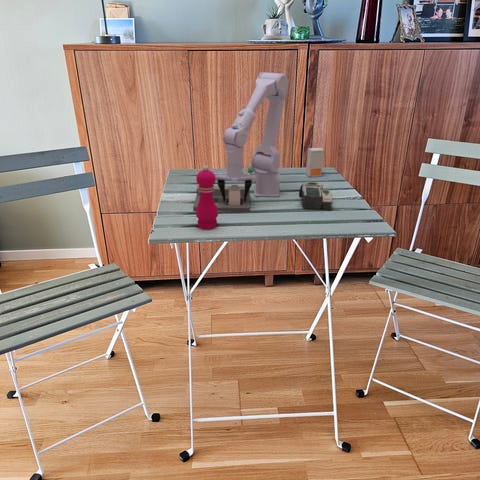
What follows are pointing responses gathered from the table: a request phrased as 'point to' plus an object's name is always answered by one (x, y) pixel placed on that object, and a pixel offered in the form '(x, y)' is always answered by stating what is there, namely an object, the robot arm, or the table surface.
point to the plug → (234, 195)
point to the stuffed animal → (250, 171)
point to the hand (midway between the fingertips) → (234, 200)
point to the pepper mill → (206, 200)
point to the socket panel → (227, 200)
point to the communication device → (315, 196)
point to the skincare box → (314, 162)
